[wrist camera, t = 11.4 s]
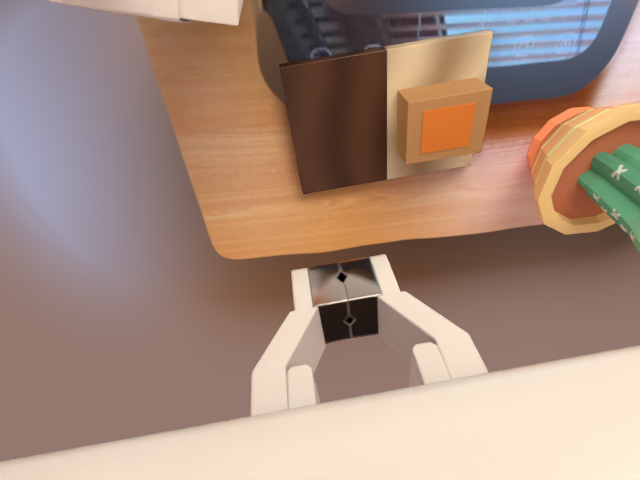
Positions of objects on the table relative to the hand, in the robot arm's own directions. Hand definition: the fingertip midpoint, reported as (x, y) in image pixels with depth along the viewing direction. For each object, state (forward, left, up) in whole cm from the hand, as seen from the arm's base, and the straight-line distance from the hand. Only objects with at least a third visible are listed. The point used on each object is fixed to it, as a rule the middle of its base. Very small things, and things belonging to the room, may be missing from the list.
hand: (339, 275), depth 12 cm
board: (-9, +8, -29) cm, 31 cm away
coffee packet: (-14, +8, -28) cm, 32 cm away
